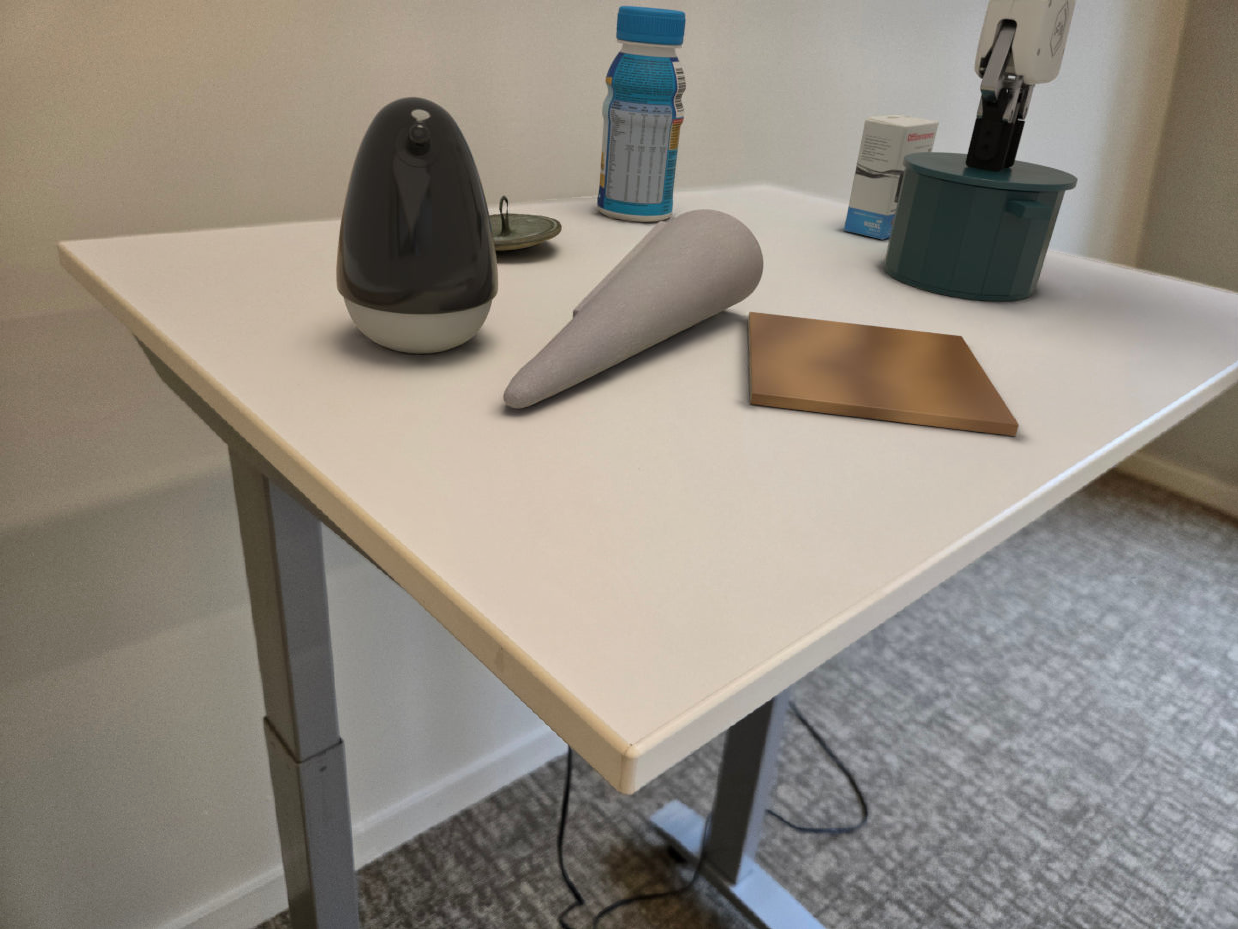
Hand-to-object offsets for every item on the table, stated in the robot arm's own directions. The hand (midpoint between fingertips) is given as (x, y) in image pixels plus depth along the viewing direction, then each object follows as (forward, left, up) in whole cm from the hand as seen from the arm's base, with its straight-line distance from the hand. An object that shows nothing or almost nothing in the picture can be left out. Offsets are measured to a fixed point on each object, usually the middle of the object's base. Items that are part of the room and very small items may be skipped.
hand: (989, 164), depth 82 cm
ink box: (+5, -17, -11) cm, 21 cm away
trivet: (+12, +28, -10) cm, 32 cm away
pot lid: (0, 0, -1) cm, 1 cm away
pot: (0, 0, -10) cm, 10 cm away
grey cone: (+27, +30, -11) cm, 42 cm away
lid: (+42, +7, -11) cm, 44 cm away
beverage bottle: (+32, -12, -11) cm, 36 cm away
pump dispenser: (+42, +32, -11) cm, 54 cm away
